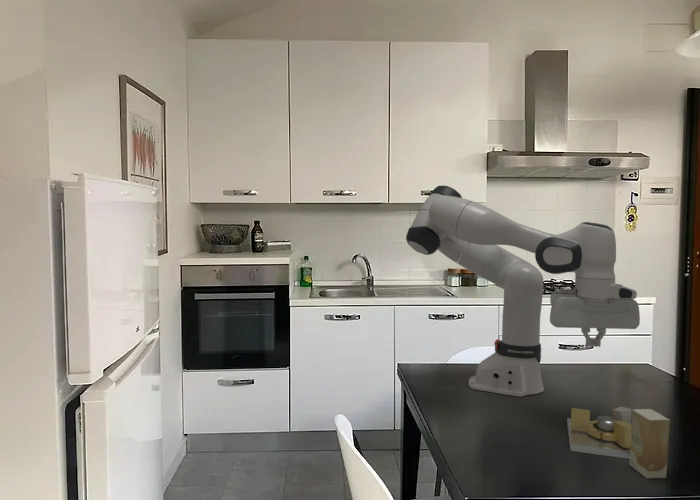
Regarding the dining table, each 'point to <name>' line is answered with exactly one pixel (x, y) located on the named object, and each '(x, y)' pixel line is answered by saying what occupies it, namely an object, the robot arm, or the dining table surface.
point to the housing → (597, 440)
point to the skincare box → (649, 443)
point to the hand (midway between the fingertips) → (593, 346)
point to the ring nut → (619, 435)
